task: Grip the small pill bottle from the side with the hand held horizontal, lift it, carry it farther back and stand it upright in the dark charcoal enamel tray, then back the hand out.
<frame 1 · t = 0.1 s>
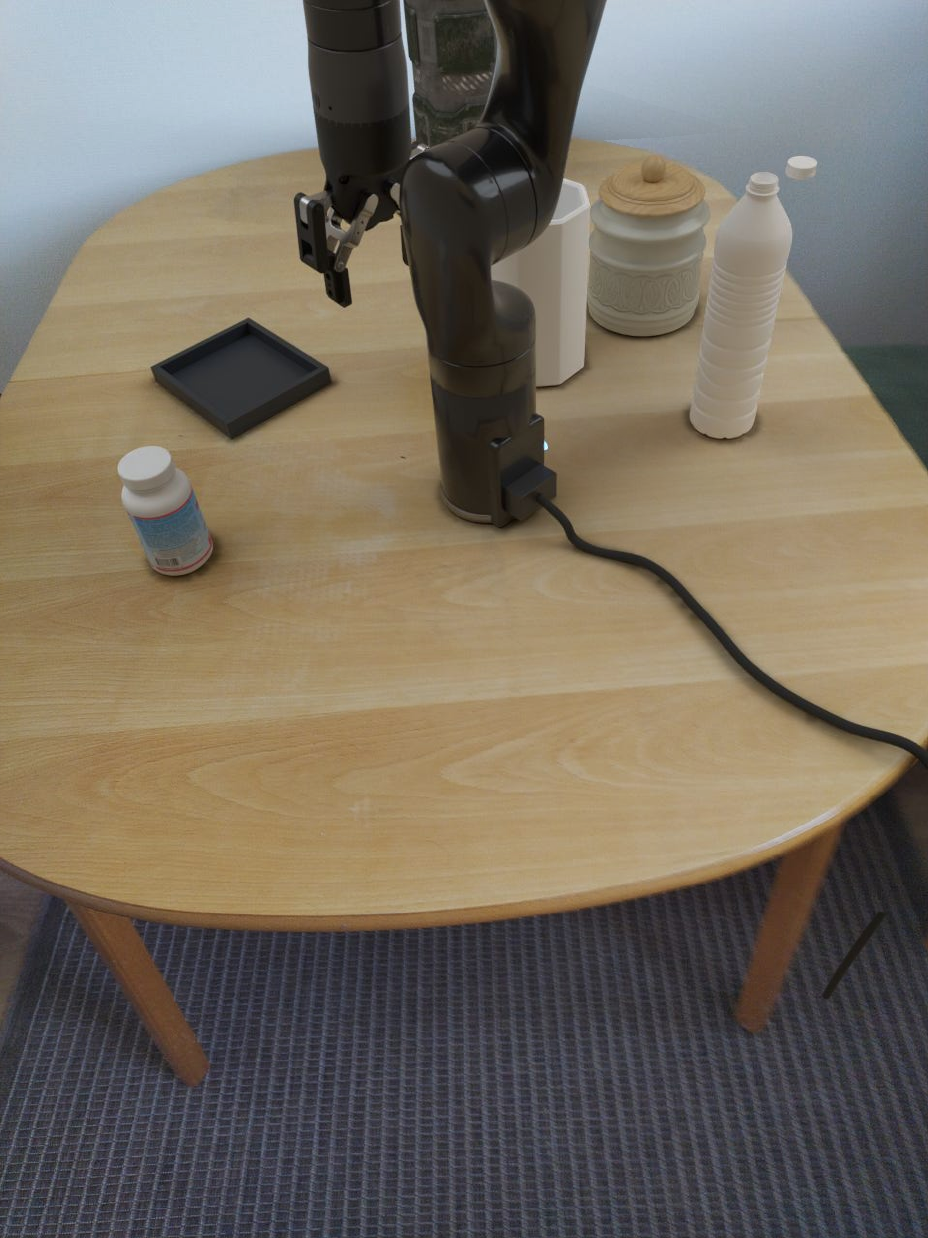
hand: (378, 283, 86), 17 cm above the table, tool pointing down, fingers open, 8 cm apart
cup: (535, 362, 107), on the table
canister: (471, 162, 141), on the table
tray: (242, 382, 107), on the table
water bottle: (729, 417, 98), on the table
pill bottle: (182, 556, 89), on the table
jar: (641, 310, 112), on the table
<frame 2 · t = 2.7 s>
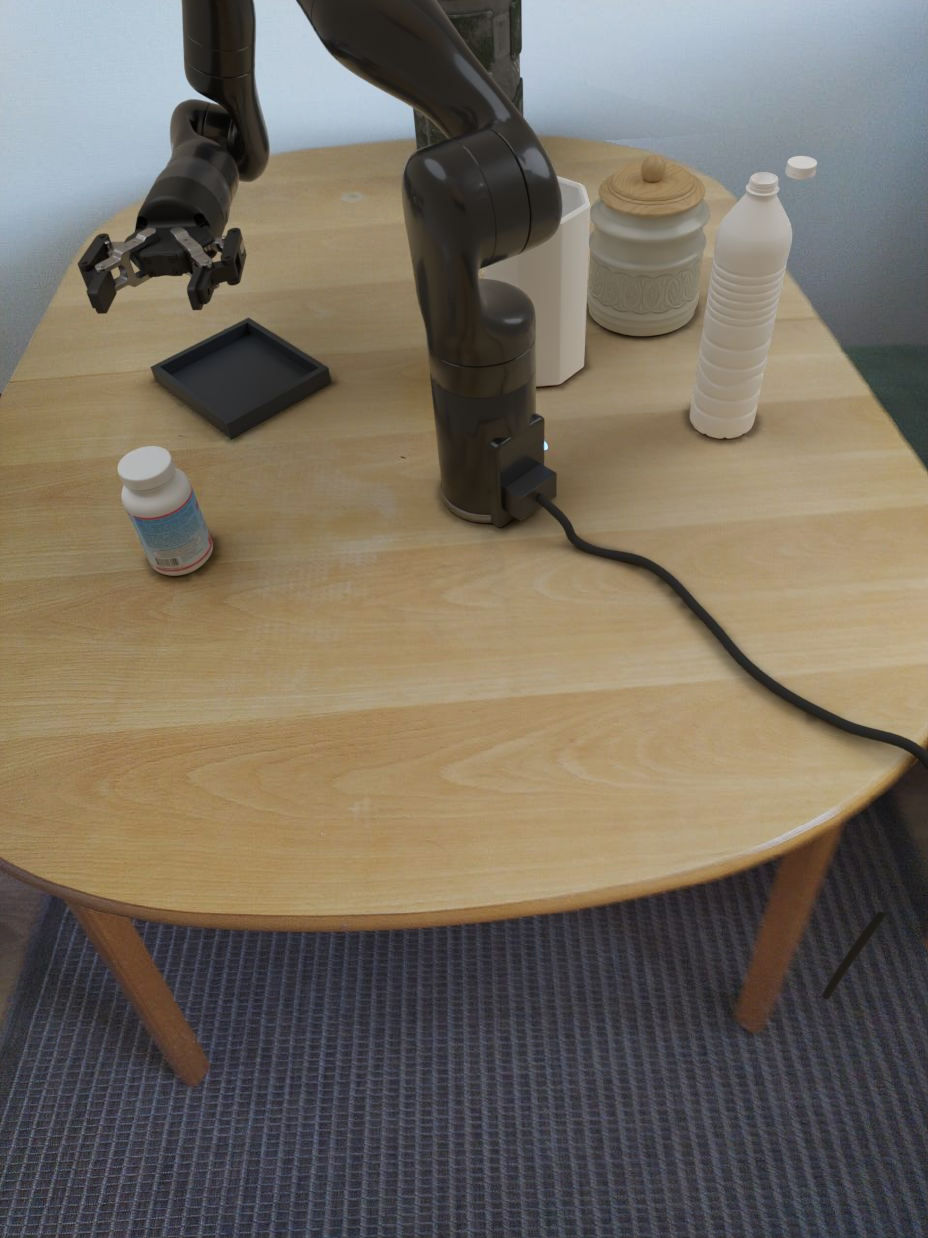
hand: (145, 302, 82), 20 cm above the table, tool horizontal, fingers open, 8 cm apart
nothing on the table moved.
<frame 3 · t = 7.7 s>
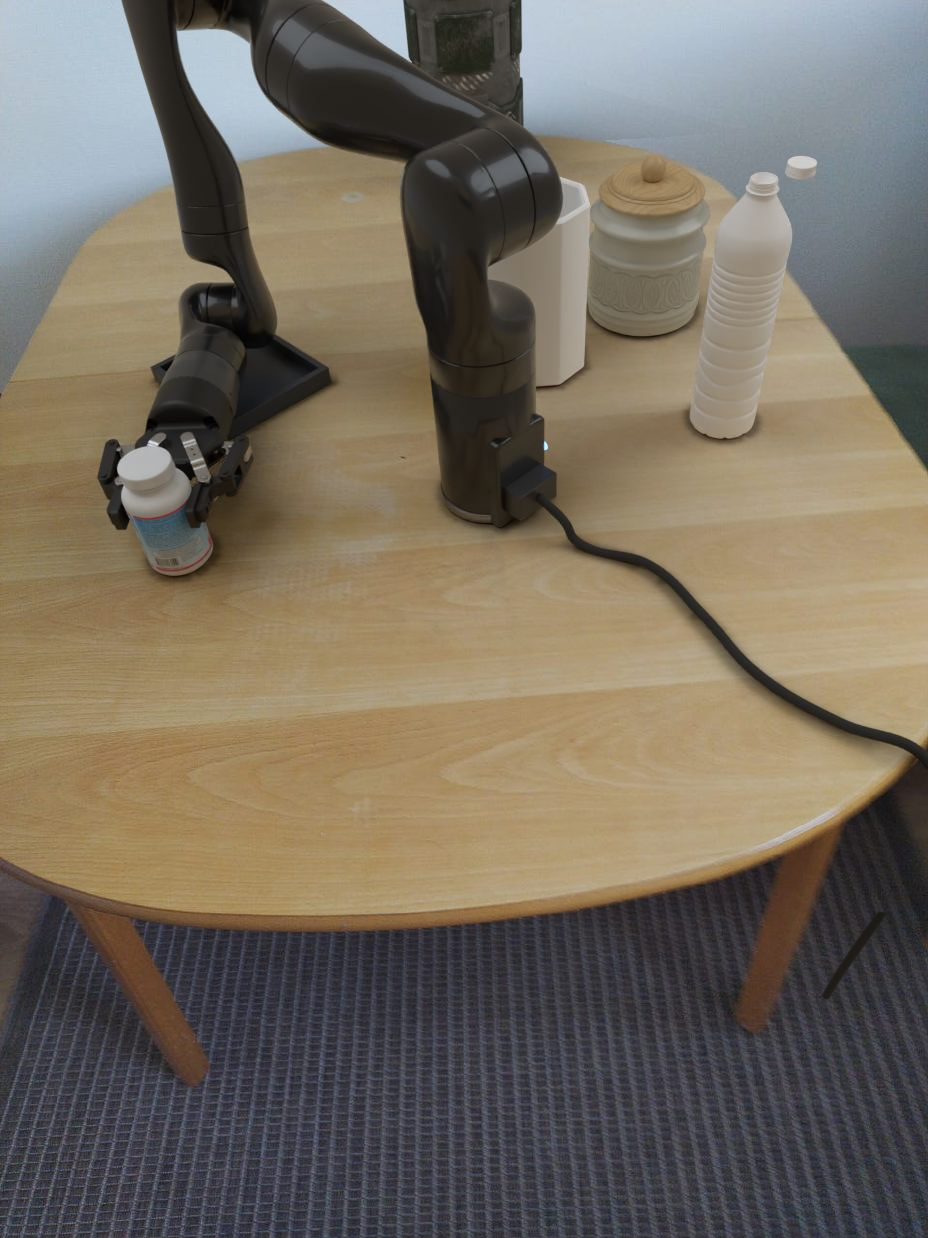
hand: (154, 521, 83), 7 cm above the table, tool horizontal, fingers closed on pill bottle, 6 cm apart
pill bottle: (182, 556, 89), on the table, touching gripper
everything else where it was.
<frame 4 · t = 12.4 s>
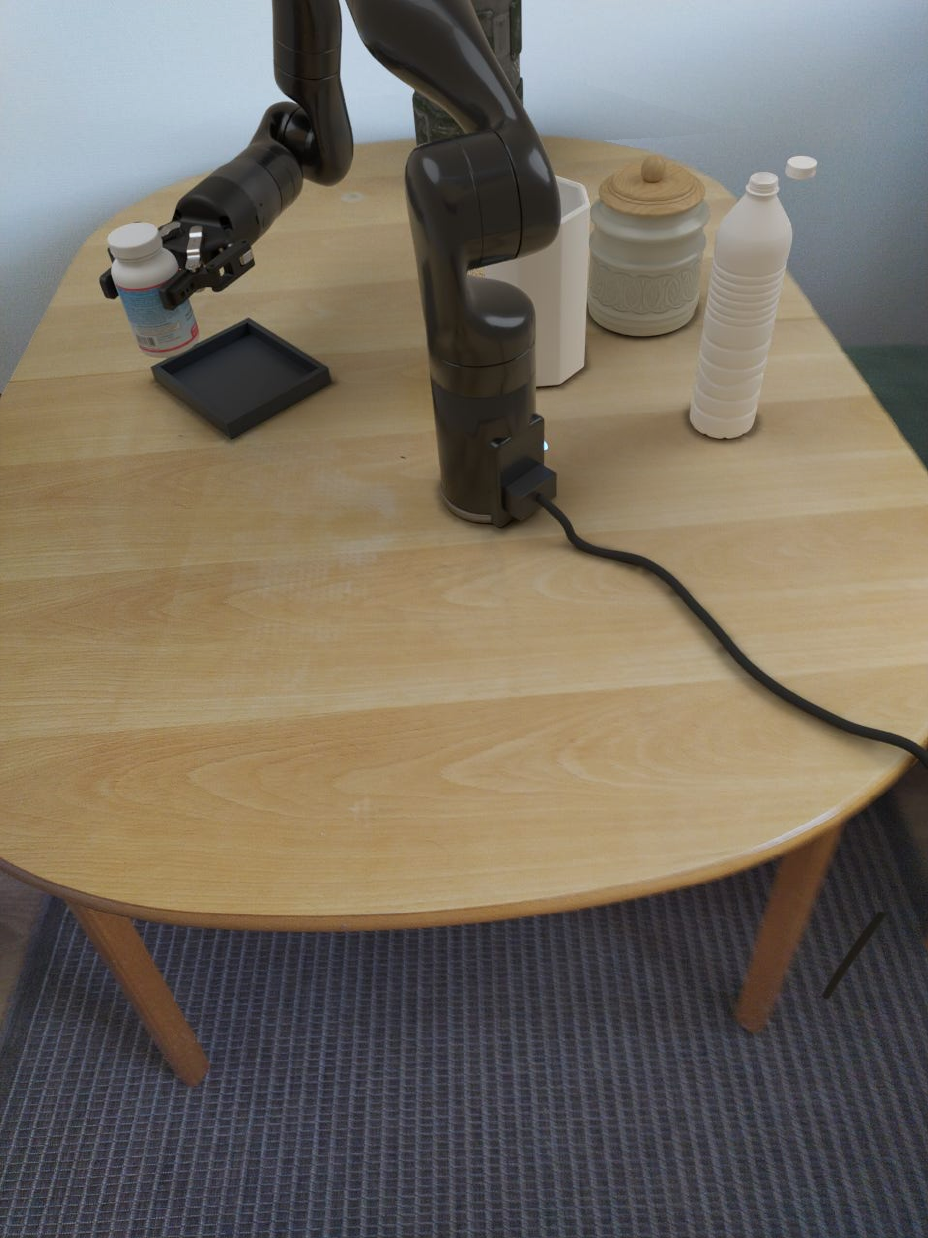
hand: (135, 295, 87), 17 cm above the table, tool horizontal, fingers closed on pill bottle, 6 cm apart
pill bottle: (170, 344, 94), point 11 cm above the table, touching gripper
everything else where it was.
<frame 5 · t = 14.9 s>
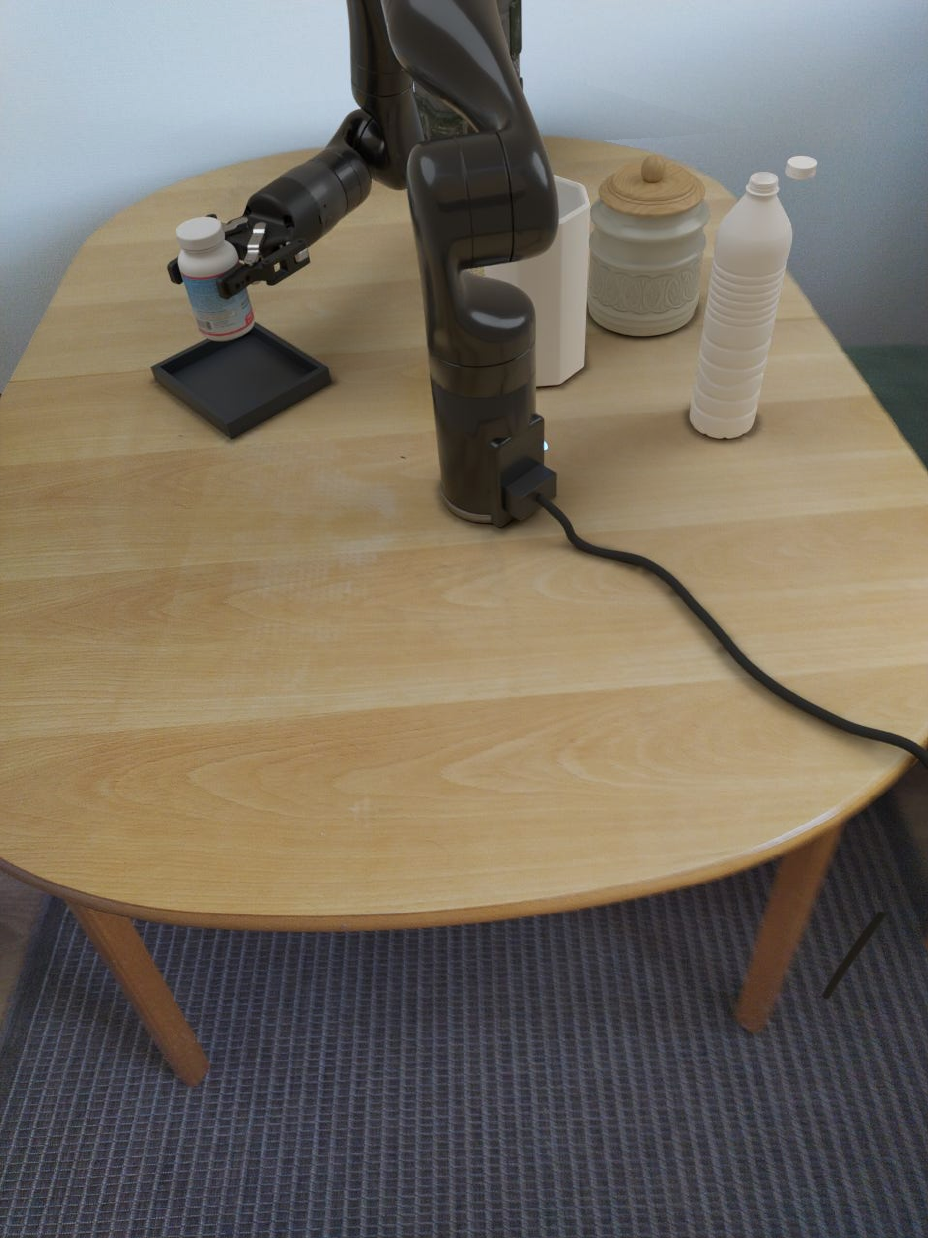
hand: (196, 282, 96), 13 cm above the table, tool horizontal, fingers closed on pill bottle, 6 cm apart
pill bottle: (228, 328, 102), point 7 cm above the table, touching gripper
everything else where it was.
when the fingers open (7 cm above the table, at t = 17.2 s): pill bottle stays where it is, resting on tray.
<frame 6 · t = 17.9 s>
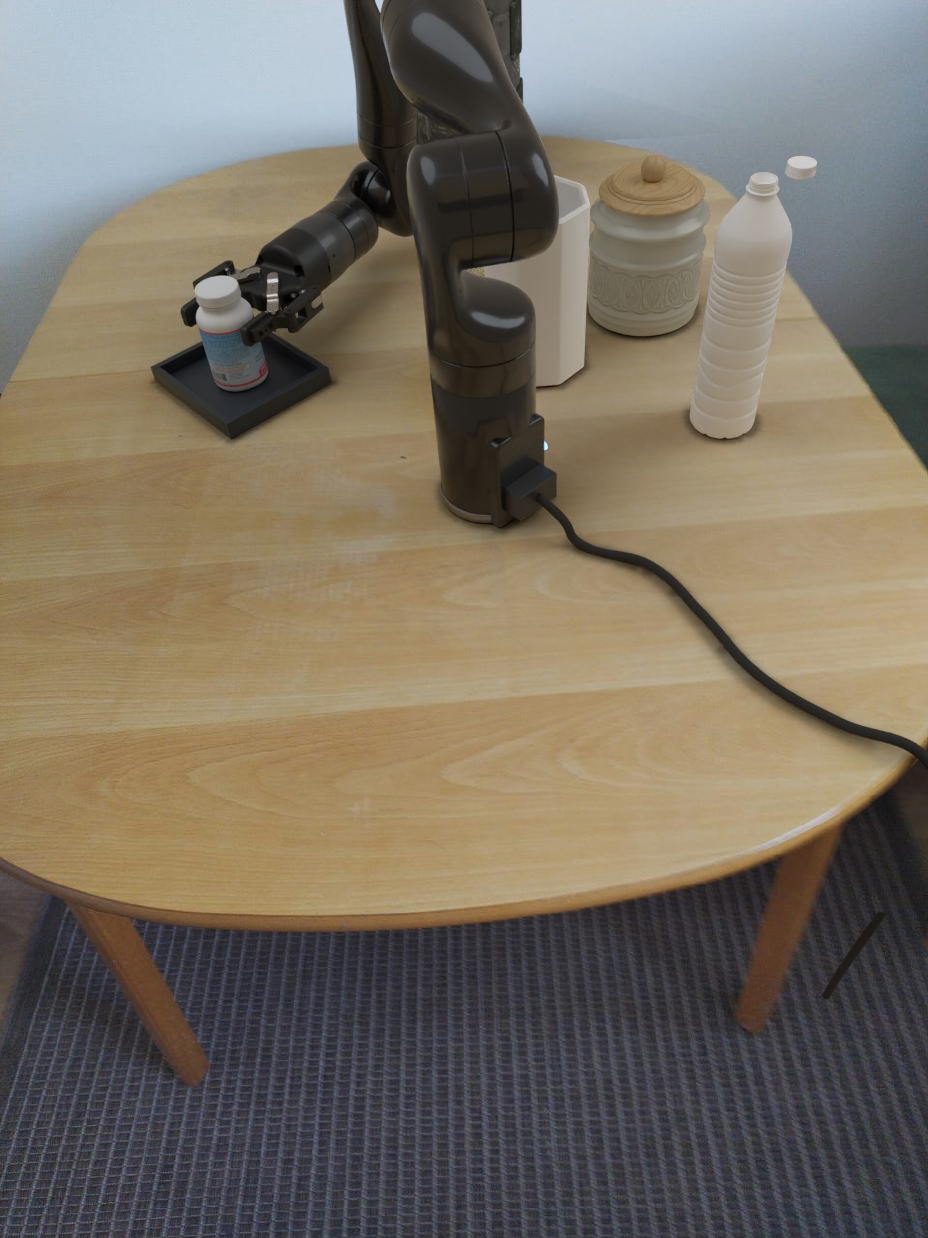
hand: (214, 328, 100), 8 cm above the table, tool horizontal, fingers open, 8 cm apart
pill bottle: (242, 379, 107), resting on tray
everything else where it was.
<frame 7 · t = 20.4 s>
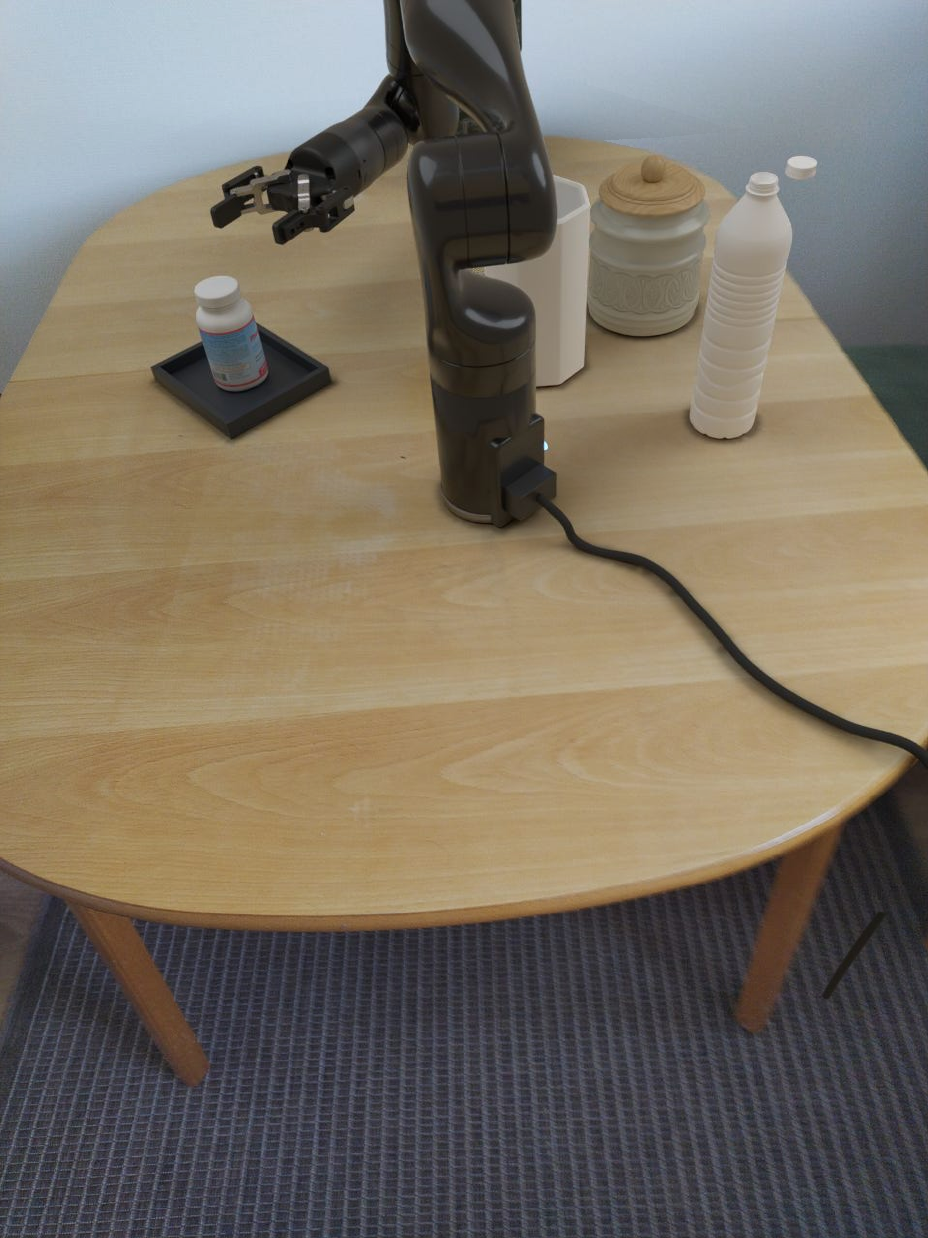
hand: (244, 227, 99), 15 cm above the table, tool horizontal, fingers open, 8 cm apart
nothing on the table moved.
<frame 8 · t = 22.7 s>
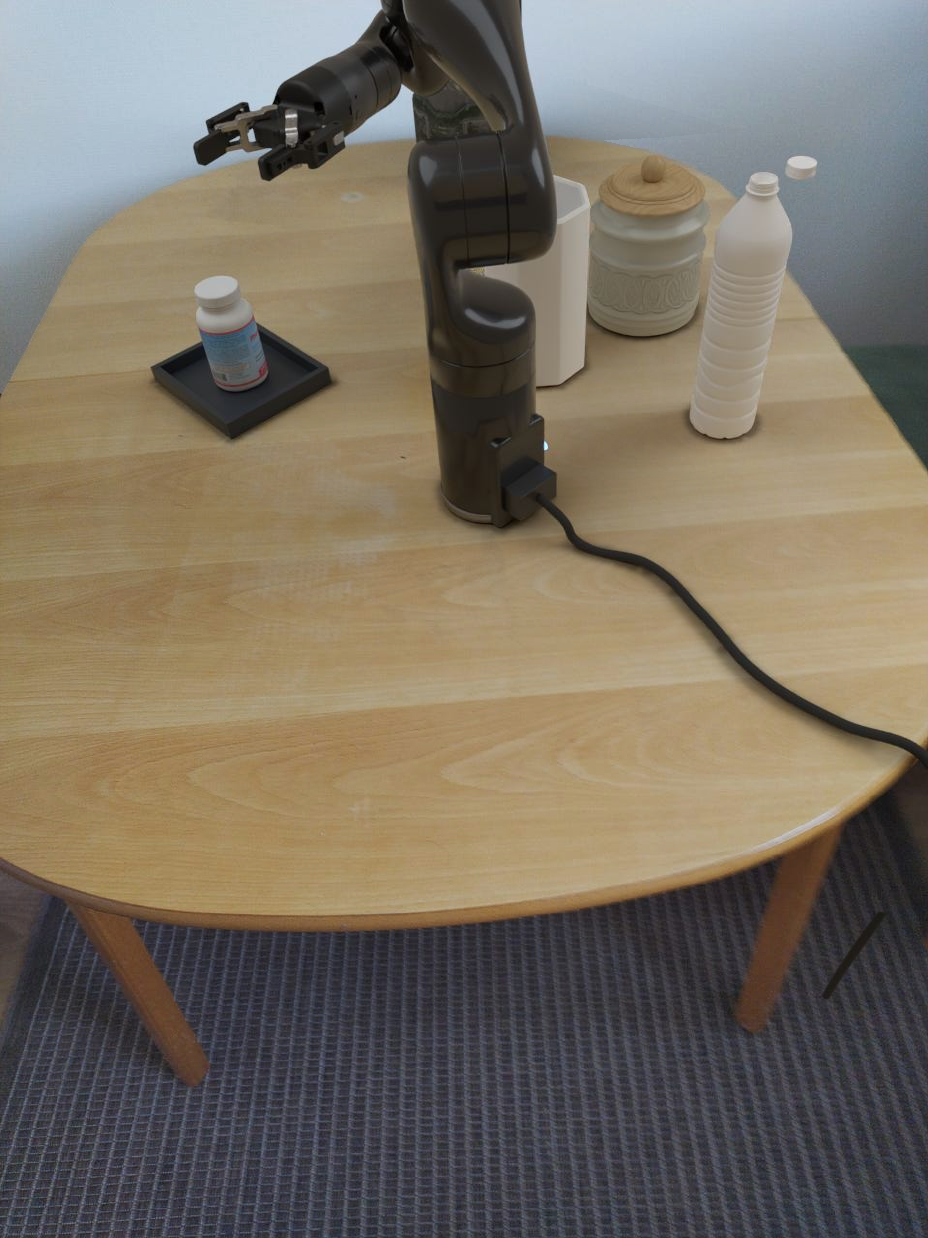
hand: (229, 163, 94), 22 cm above the table, tool horizontal, fingers open, 8 cm apart
nothing on the table moved.
at the end: pill bottle inside the target area in the tray (0.1 cm from its centre), point 0.3 cm above the tray's base; pill bottle tilted 0°; the gripper is holding nothing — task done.
